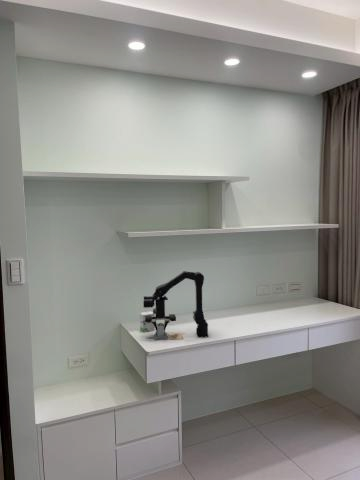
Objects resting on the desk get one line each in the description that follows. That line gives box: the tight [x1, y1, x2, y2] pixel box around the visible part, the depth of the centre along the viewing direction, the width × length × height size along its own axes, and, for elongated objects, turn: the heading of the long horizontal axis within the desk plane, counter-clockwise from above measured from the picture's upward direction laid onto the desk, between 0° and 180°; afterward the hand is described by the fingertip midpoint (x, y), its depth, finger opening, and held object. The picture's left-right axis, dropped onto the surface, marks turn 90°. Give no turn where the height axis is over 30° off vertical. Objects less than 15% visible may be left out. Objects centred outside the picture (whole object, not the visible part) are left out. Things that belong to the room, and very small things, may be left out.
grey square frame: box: [153, 331, 169, 341], centre depth 228 cm, size 8×9×2 cm
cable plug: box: [156, 322, 165, 336], centre depth 227 cm, size 4×5×7 cm
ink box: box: [139, 310, 156, 333], centre depth 240 cm, size 8×5×12 cm, turn 116°
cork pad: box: [167, 333, 184, 341], centre depth 229 cm, size 9×9×1 cm
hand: (160, 331), depth 227 cm, fingers closed on cable plug, 4 cm apart
